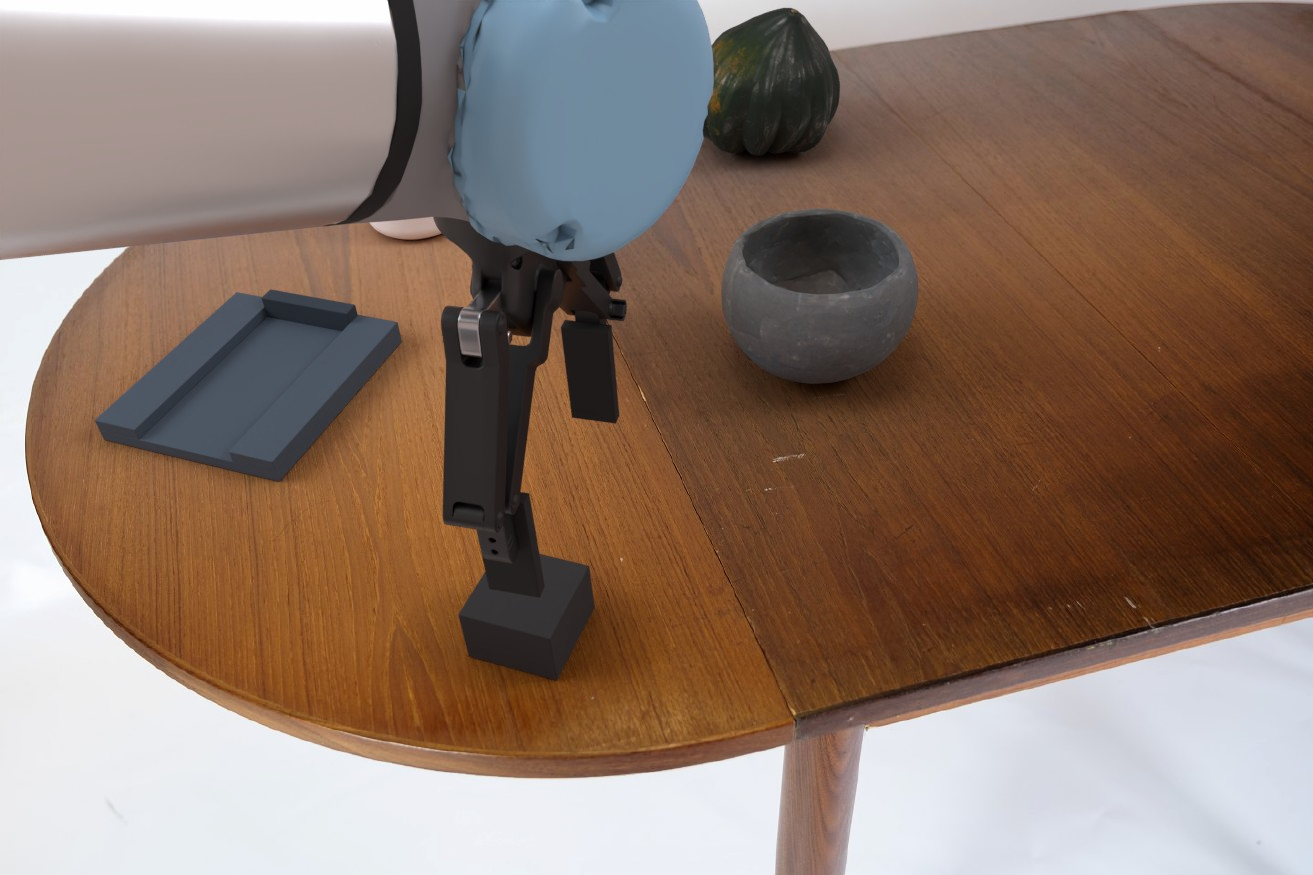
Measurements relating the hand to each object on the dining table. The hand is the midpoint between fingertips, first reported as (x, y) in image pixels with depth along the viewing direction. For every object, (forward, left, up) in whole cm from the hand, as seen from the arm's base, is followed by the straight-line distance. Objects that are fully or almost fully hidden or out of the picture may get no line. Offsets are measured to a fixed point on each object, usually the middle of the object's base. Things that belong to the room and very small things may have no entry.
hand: (559, 496), depth 62 cm
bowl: (+32, -7, -13) cm, 35 cm away
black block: (0, +3, -13) cm, 13 cm away
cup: (+43, +35, -13) cm, 57 cm away
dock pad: (+16, +35, -13) cm, 40 cm away
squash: (+67, +7, -13) cm, 69 cm away
